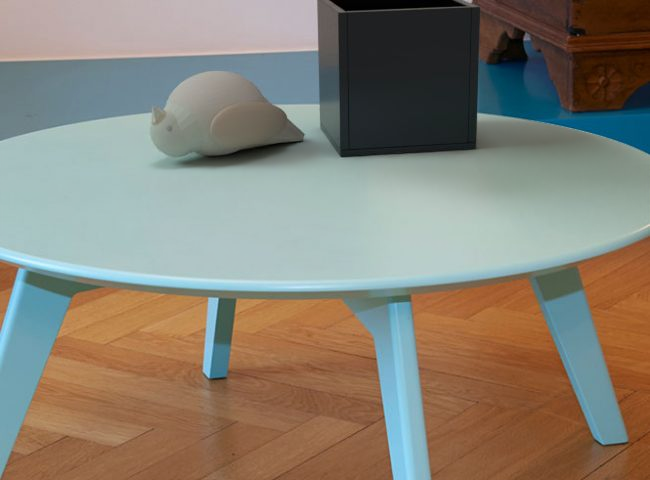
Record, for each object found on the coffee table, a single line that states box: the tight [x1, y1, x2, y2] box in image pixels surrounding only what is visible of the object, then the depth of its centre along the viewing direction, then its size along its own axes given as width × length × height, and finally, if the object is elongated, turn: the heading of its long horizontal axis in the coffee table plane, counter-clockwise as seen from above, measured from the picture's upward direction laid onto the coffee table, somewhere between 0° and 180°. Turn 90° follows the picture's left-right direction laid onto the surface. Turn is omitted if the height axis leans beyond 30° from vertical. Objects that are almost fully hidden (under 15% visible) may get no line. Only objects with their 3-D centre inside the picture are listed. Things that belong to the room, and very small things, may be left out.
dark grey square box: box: [316, 0, 481, 158], centre depth 106 cm, size 13×13×13 cm
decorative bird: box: [149, 70, 306, 158], centre depth 103 cm, size 9×16×8 cm, turn 134°
